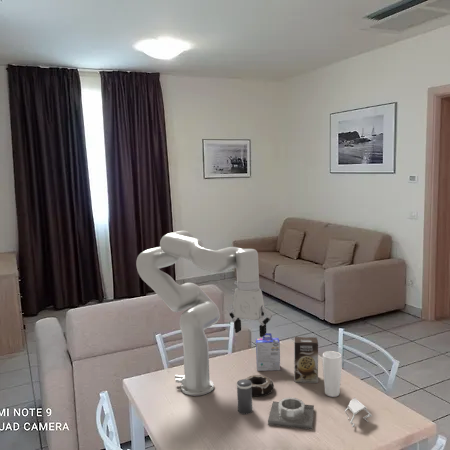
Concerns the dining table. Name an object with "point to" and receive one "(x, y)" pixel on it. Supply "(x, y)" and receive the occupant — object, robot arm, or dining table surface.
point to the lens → (244, 396)
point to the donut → (261, 385)
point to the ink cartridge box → (268, 353)
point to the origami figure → (356, 409)
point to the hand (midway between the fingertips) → (250, 333)
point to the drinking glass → (332, 372)
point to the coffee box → (306, 359)
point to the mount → (291, 414)
